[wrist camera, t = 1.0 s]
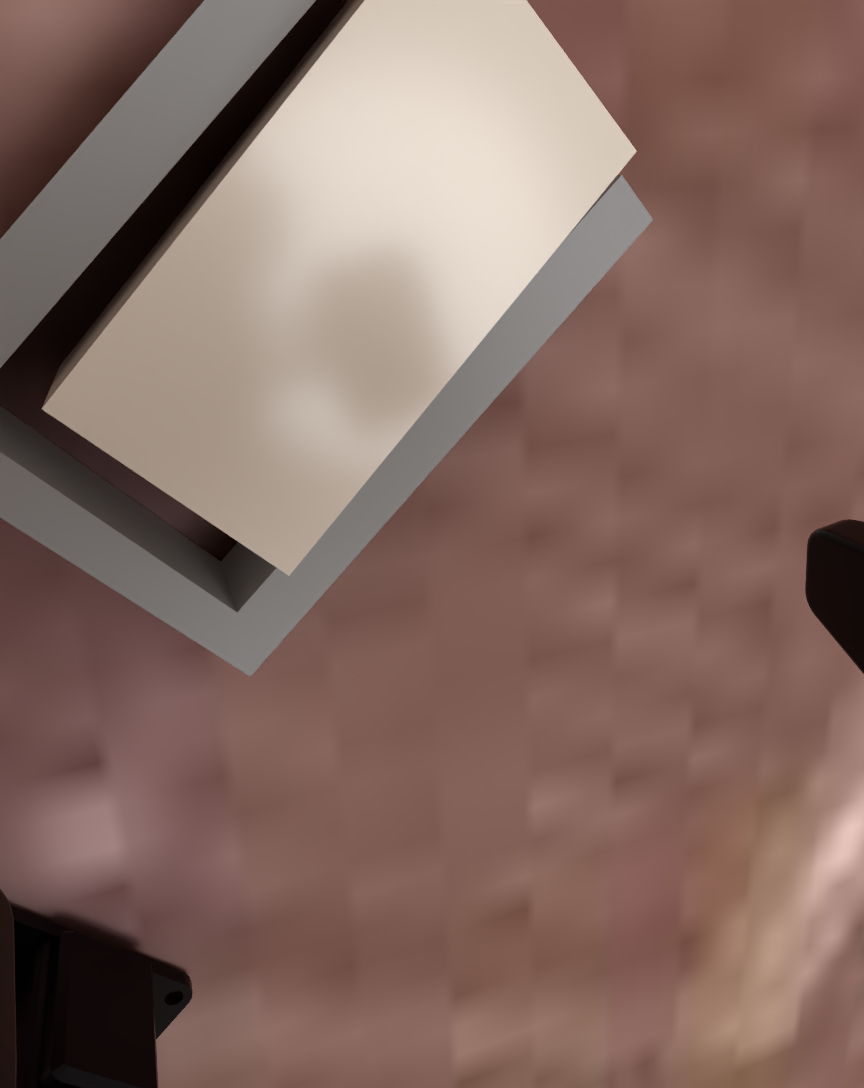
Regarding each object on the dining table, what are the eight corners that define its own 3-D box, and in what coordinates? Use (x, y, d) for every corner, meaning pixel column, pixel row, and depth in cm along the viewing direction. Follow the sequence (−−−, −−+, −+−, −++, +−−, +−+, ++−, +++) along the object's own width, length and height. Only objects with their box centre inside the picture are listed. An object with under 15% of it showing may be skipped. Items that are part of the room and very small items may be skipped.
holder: (232, 618, 20) (250, 676, 17) (-110, 389, 16) (-154, 419, 13) (581, 221, 20) (652, 219, 17) (324, -119, 16) (367, -191, 13)
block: (249, 499, 19) (288, 576, 15) (60, 363, 17) (41, 409, 13) (516, 170, 19) (636, 151, 15) (360, -17, 17) (448, -107, 12)
